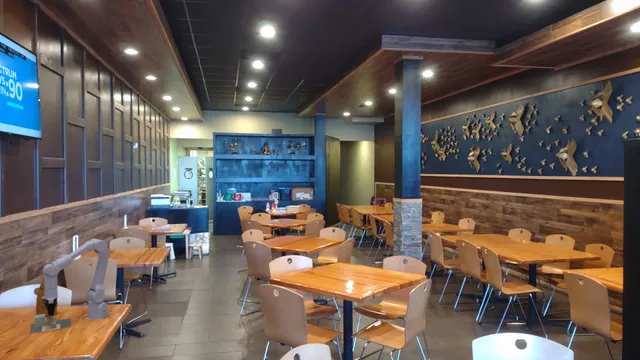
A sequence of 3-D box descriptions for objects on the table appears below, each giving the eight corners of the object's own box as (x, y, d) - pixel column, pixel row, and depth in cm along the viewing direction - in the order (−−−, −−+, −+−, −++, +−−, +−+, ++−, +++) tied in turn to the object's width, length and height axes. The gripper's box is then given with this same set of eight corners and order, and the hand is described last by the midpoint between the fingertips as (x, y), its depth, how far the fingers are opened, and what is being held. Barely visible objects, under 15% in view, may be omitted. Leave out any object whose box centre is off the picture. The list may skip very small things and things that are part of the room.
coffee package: (55, 310, 246) (55, 273, 246) (58, 316, 237) (58, 277, 236) (34, 314, 240) (34, 275, 239) (37, 319, 230) (37, 280, 230)
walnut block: (56, 325, 220) (56, 315, 220) (56, 328, 217) (56, 318, 217) (45, 326, 218) (45, 317, 218) (45, 329, 214) (45, 320, 214)
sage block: (45, 323, 224) (45, 313, 224) (45, 325, 220) (45, 316, 220) (34, 324, 221) (34, 315, 221) (34, 327, 217) (34, 317, 217)
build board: (70, 319, 231) (70, 318, 231) (71, 327, 219) (71, 326, 219) (31, 325, 222) (31, 324, 222) (29, 334, 209) (29, 333, 209)
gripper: (42, 285, 221) (42, 310, 221) (41, 292, 209) (41, 318, 209) (57, 283, 225) (58, 308, 225) (57, 289, 213) (58, 316, 213)
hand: (51, 313), depth 217 cm, fingers open, 7 cm apart
